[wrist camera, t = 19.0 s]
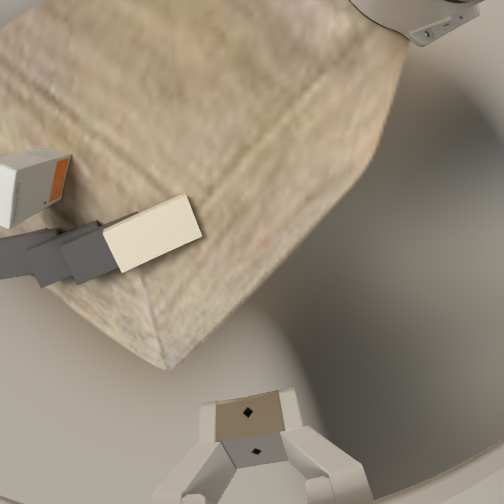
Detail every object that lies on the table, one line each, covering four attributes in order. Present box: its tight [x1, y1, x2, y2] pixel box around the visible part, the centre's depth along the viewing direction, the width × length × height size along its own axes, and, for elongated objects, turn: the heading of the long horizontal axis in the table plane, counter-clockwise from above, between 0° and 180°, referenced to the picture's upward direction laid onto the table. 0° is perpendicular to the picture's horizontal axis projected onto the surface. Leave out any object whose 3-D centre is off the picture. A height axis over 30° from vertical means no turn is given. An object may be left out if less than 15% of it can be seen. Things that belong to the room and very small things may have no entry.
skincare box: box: [0, 146, 71, 229], centre depth 28 cm, size 6×4×12 cm
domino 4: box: [103, 193, 202, 273], centre depth 35 cm, size 2×5×10 cm
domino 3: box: [60, 212, 138, 285], centre depth 35 cm, size 2×5×10 cm
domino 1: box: [0, 228, 59, 279], centre depth 34 cm, size 2×5×10 cm
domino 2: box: [25, 220, 99, 288], centre depth 35 cm, size 2×5×10 cm
